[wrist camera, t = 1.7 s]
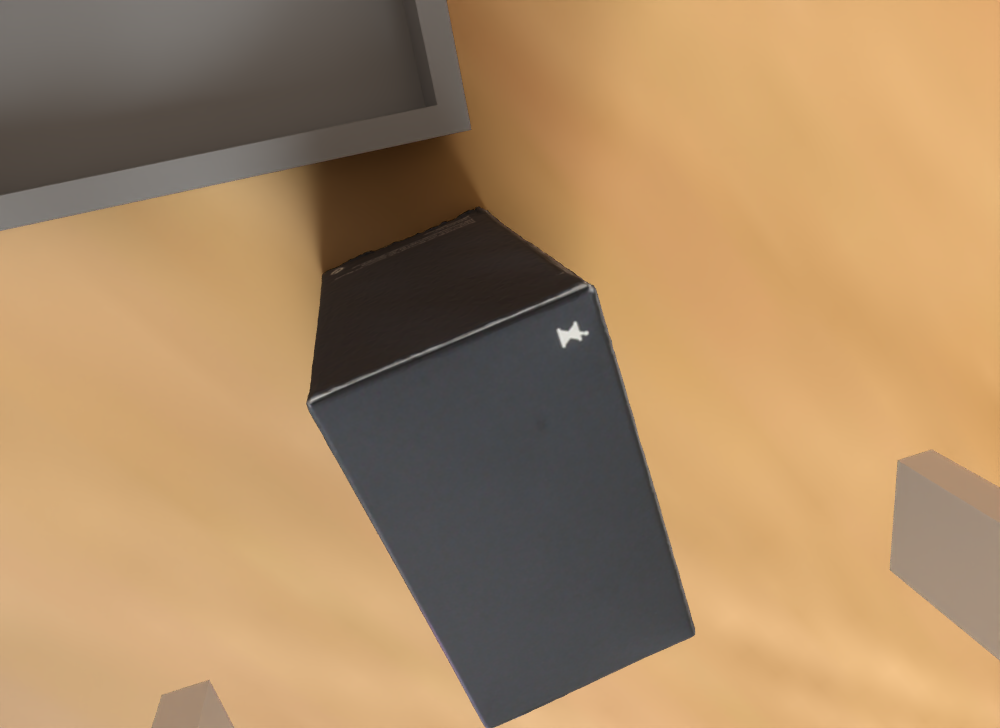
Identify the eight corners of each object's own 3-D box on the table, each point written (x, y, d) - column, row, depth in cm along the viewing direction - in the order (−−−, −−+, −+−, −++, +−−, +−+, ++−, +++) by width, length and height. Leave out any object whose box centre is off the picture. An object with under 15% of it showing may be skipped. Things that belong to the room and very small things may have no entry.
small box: (305, 274, 21) (281, 400, 11) (485, 200, 22) (604, 263, 12) (425, 513, 25) (481, 749, 16) (572, 447, 26) (710, 635, 16)
